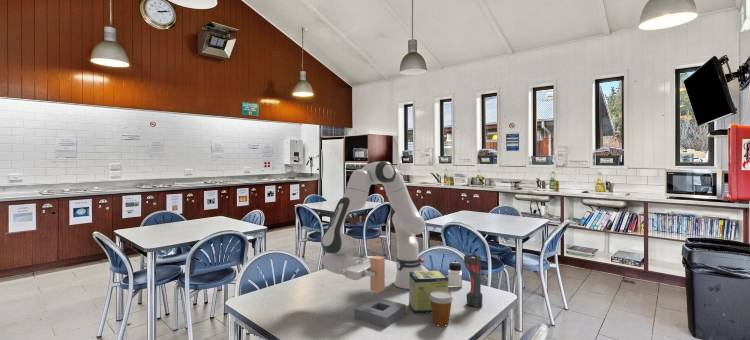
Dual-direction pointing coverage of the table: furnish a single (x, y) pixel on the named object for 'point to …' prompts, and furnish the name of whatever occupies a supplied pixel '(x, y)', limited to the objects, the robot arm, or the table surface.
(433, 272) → the protein box
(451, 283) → the medicine bottle
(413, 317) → the table surface
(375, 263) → the plug block
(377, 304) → the socket block
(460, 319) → the table surface
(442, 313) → the disposable coffee cup
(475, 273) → the flashlight
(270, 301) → the table surface
